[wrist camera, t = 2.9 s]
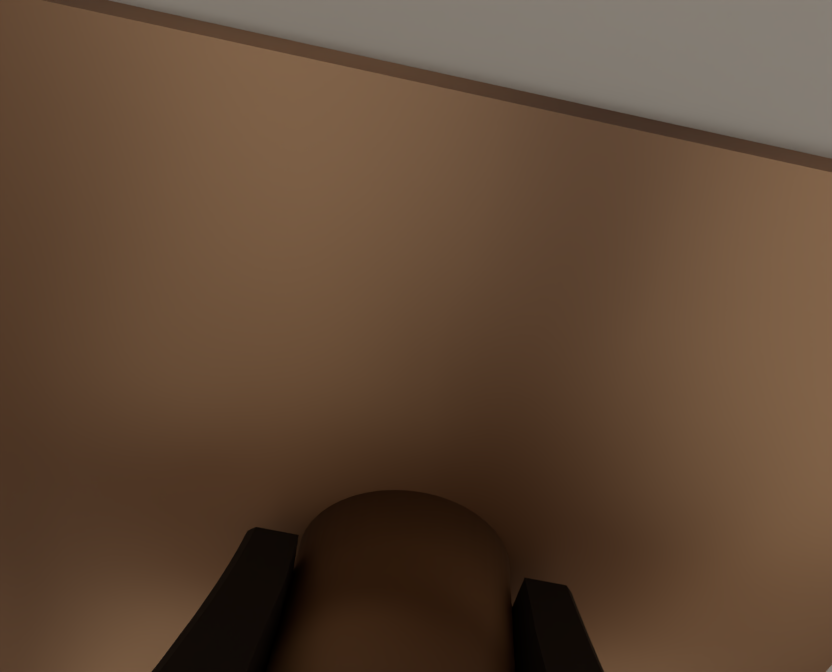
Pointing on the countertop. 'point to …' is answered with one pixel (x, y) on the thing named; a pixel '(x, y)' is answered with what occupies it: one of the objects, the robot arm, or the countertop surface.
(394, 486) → the lid
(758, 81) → the mat
